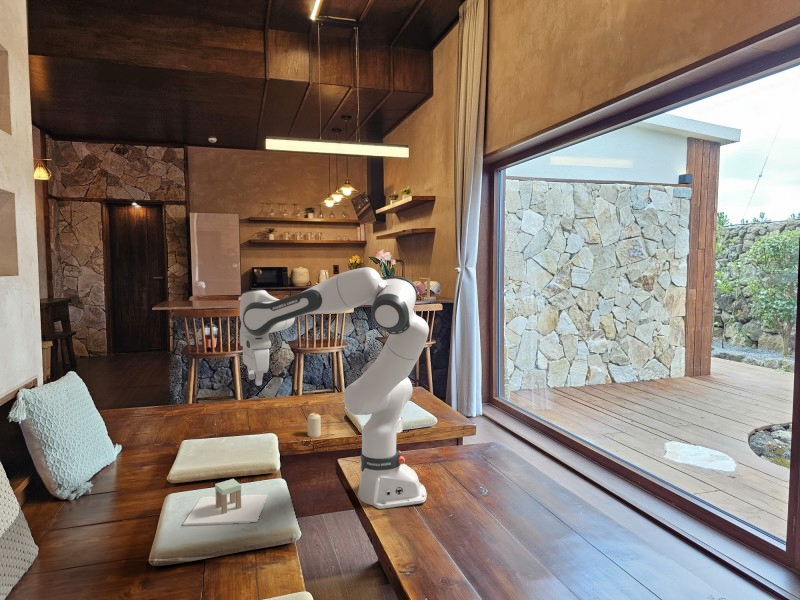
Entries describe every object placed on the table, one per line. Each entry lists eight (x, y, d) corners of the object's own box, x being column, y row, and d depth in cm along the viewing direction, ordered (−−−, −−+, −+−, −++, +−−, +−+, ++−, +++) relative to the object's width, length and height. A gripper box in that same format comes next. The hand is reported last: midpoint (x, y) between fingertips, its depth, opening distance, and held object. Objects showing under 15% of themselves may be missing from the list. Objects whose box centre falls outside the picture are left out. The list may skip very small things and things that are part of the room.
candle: (318, 439, 203) (317, 416, 202) (305, 438, 204) (305, 415, 203) (322, 435, 208) (322, 412, 207) (310, 434, 209) (310, 411, 208)
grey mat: (267, 496, 152) (267, 494, 152) (257, 522, 136) (257, 520, 136) (201, 498, 150) (201, 496, 150) (183, 525, 134) (183, 523, 134)
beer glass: (395, 455, 213) (395, 422, 211) (383, 451, 217) (383, 418, 216) (405, 450, 218) (405, 418, 216) (394, 446, 222) (394, 414, 221)
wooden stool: (233, 501, 148) (233, 478, 147) (241, 507, 143) (241, 484, 143) (215, 507, 144) (215, 484, 143) (223, 514, 140) (222, 490, 139)
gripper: (237, 336, 165) (238, 376, 166) (251, 344, 147) (252, 389, 148) (256, 335, 168) (257, 374, 169) (272, 343, 150) (273, 387, 151)
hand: (255, 382), depth 158 cm, fingers open, 8 cm apart
